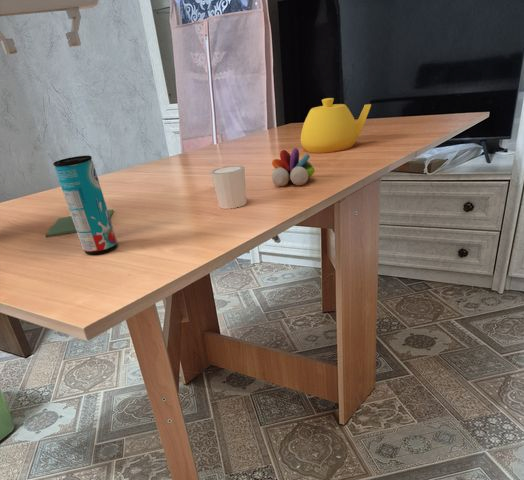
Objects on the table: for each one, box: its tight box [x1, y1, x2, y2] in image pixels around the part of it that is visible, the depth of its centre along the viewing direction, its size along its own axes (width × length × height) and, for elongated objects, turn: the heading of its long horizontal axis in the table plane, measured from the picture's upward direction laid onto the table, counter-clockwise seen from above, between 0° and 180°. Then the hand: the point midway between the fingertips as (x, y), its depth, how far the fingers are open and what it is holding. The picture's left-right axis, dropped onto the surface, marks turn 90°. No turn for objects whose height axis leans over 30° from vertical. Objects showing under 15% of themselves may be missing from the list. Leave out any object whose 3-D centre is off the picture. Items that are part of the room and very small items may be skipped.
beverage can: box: [52, 155, 118, 255], centre depth 78 cm, size 6×6×15 cm
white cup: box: [210, 165, 247, 210], centre depth 94 cm, size 7×7×7 cm
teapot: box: [300, 97, 372, 154], centre depth 133 cm, size 20×19×13 cm
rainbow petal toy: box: [271, 147, 316, 187], centre depth 104 cm, size 8×10×7 cm
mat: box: [45, 208, 114, 238], centre depth 98 cm, size 12×12×1 cm
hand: (44, 50), depth 70 cm, fingers open, 8 cm apart
